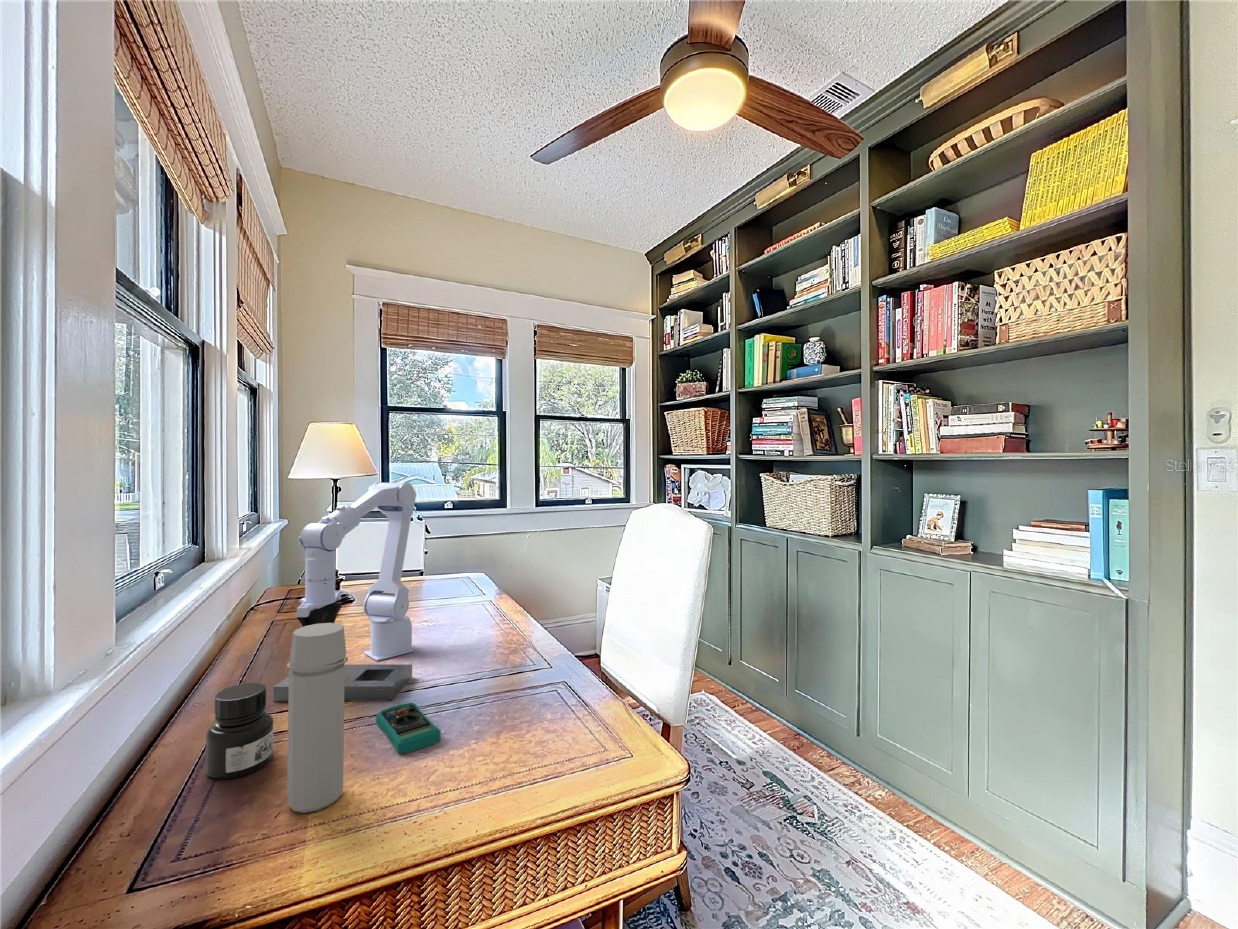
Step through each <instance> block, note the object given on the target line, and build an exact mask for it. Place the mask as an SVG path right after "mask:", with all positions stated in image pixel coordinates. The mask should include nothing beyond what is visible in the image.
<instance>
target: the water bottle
mask: <svg viewBox="0 0 1238 929" xmlns="http://www.w3.org/2000/svg"><path fill="white" fill-rule="evenodd" d="M291 637H292V638H291V646H290V655H289V662H287V664H286V666H287V668H288V669H289V672H288V677H289V695H288V701H287V703H288V704H287V706H288V708H287V709H288V711H287V715H288V716H287V717H288V718H287V722H288V723H287V724H288V725H287V786H286V787H287V794H286V795H287V796H286V797H287V798H286V799H287V803H286V804H287V805H288V806H289V807H290V809H291V810H292V811H293V812H296V813H303V814H305V813H312V812H317V811H318V812H319V811H320V810H322V809H324V808H327V807H329V806H331V805H332V804H333V803H335V801H337V800H338V799H339V798H340V797H341V795H342V793H343V789H344V759H345V758H344V756H345V755H344V752H345V751H344V750H345V749H344V746H345V744H344V741H345V740H344V739H345V737H344V736H345V734H344V733H345V732H344V731H345V723H344V722H345V701H344V673H345V665H346V664H345V663H347V662H348V661H349V657H347V656H346V655H347V647H346V636H345V626H344V625H343V624H341V623H338V622H337V623H336V622H334V623H320V624H313V625H308V626H304V627H303V626H302V627H299V628H297V629H295V630H294V631H293V632H292V636H291Z"/></svg>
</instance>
